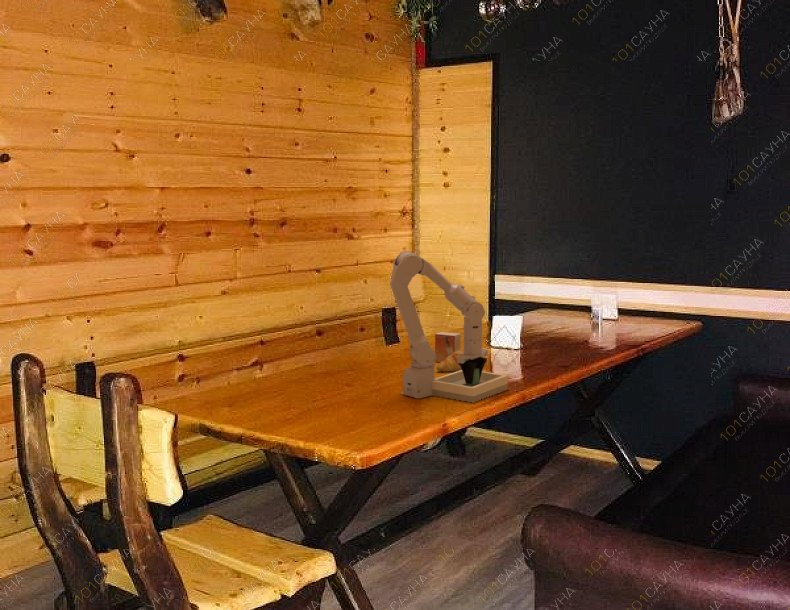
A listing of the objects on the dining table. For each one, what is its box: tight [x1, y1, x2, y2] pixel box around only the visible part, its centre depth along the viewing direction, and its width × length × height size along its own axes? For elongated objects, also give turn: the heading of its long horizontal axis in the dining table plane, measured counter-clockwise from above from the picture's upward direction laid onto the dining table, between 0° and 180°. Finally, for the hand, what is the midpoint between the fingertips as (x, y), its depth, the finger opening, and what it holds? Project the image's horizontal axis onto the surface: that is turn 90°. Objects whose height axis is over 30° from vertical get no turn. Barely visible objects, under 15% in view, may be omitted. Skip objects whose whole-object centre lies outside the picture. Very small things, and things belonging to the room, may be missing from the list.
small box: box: [434, 331, 462, 363], centre depth 298 cm, size 8×6×10 cm
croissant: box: [435, 349, 464, 373], centre depth 287 cm, size 21×10×8 cm, turn 130°
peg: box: [468, 368, 479, 387], centre depth 256 cm, size 4×4×7 cm
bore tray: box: [432, 370, 509, 404], centre depth 255 cm, size 20×16×4 cm
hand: (472, 382), depth 256 cm, fingers closed on peg, 4 cm apart
